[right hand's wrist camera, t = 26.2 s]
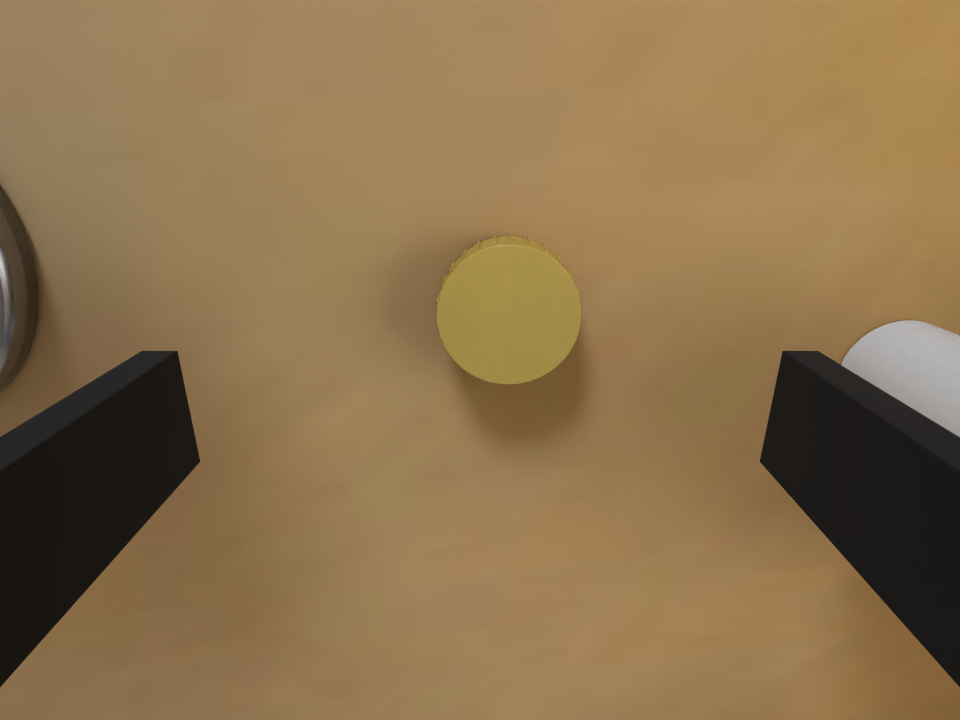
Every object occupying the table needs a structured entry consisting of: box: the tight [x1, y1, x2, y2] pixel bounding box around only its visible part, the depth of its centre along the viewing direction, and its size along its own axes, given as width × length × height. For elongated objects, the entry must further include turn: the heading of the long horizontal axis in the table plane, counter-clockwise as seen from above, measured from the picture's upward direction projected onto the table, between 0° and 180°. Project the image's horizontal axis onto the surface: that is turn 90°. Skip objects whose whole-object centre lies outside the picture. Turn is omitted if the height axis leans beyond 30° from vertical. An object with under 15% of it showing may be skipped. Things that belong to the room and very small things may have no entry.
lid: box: [436, 234, 582, 385], centre depth 23 cm, size 6×6×2 cm
